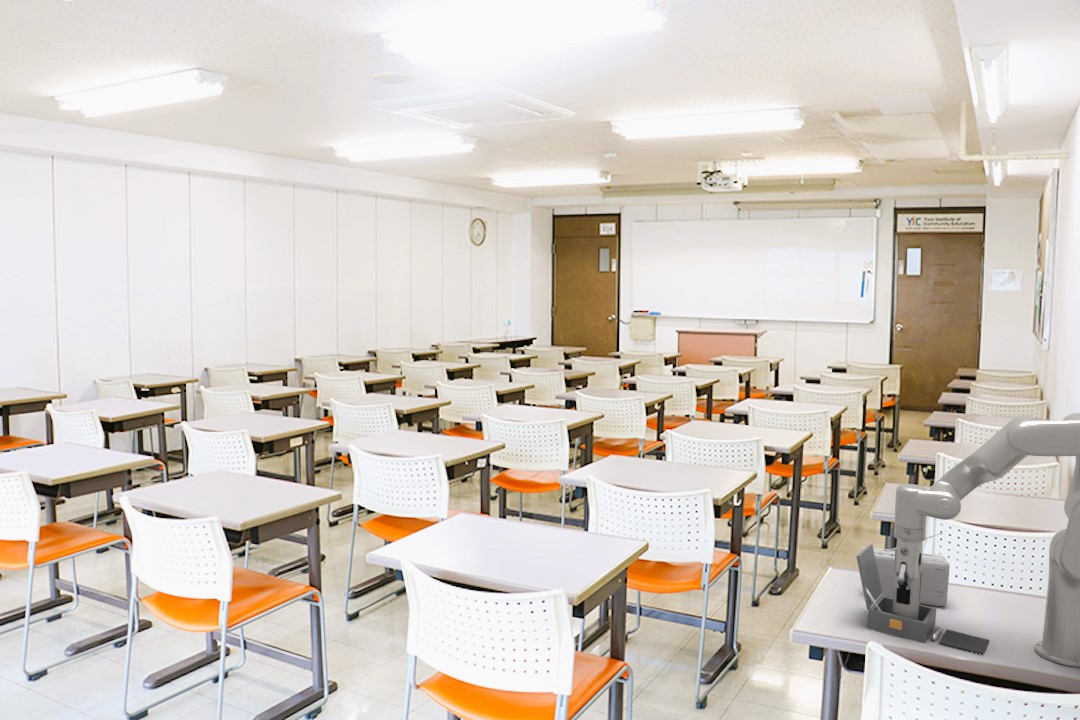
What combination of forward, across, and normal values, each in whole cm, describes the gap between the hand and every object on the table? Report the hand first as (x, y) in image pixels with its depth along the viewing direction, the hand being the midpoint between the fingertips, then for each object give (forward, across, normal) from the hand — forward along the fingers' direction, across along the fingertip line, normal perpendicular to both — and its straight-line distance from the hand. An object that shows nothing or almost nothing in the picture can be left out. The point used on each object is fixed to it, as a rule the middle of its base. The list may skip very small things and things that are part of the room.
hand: (906, 598), depth 221 cm
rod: (+8, 0, -8) cm, 11 cm away
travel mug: (+7, 0, 0) cm, 7 cm away
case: (+8, 0, +3) cm, 8 cm away
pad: (+8, 0, -14) cm, 16 cm away
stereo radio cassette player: (+8, +22, +5) cm, 24 cm away
